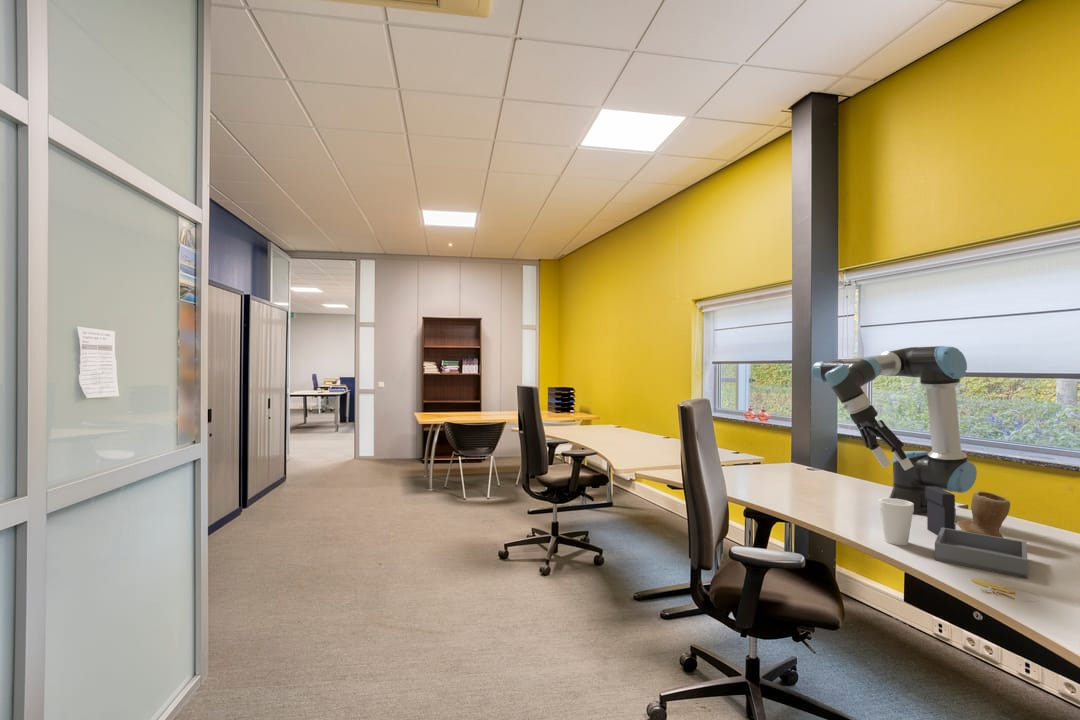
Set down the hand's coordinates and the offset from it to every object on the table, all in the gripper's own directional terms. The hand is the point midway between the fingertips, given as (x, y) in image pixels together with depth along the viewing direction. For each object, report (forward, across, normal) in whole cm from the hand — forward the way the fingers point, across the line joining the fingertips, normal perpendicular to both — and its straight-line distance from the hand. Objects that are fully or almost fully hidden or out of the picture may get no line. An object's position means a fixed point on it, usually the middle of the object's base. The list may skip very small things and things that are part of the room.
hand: (897, 467), depth 169 cm
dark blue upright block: (+29, -13, +5) cm, 32 cm away
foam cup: (+21, -3, -12) cm, 24 cm away
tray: (+30, +9, +2) cm, 32 cm away
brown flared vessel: (+35, -13, +16) cm, 41 cm away
